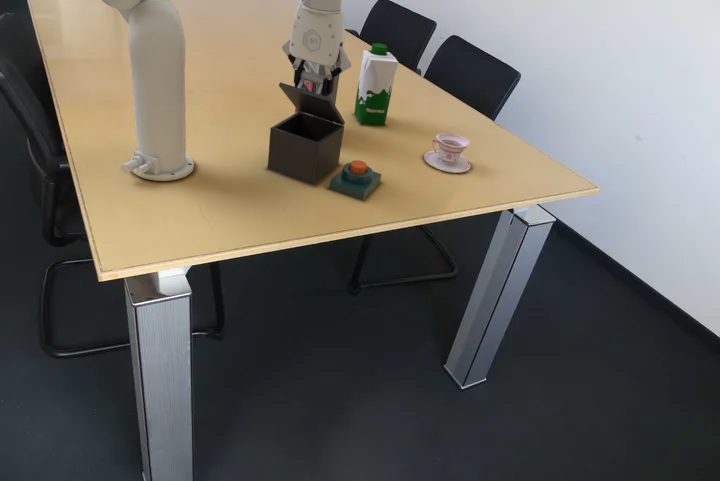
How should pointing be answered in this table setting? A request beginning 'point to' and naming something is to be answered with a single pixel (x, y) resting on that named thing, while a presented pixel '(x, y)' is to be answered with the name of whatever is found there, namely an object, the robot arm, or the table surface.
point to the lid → (312, 99)
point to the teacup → (449, 153)
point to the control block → (355, 182)
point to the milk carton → (375, 85)
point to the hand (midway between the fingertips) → (312, 91)
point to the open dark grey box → (305, 147)
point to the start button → (358, 167)
